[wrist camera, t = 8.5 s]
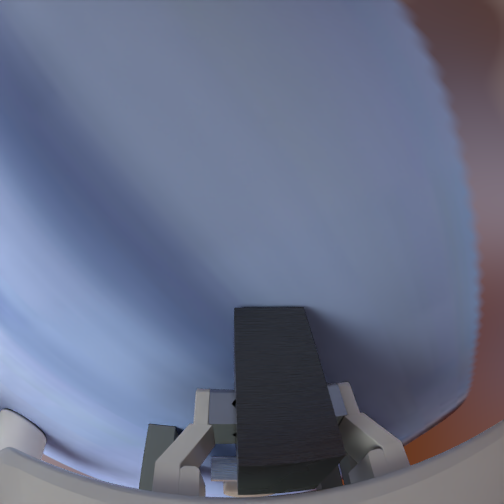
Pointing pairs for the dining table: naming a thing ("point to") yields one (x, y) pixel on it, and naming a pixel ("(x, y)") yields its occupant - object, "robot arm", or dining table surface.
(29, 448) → the can
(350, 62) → the dining table surface
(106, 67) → the dining table surface
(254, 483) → the block
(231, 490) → the coaster
